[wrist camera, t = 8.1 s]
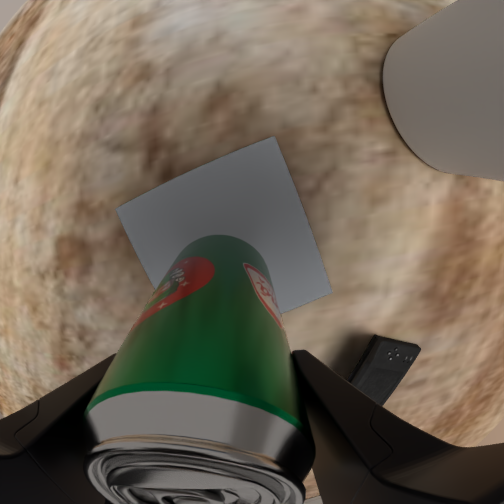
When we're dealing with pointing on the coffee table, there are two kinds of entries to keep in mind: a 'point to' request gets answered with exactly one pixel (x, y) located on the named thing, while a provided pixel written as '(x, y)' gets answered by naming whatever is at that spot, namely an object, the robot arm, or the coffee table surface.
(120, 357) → the soda can
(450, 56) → the cylinder vase
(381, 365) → the handheld gaming console
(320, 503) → the small box
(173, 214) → the slate mat
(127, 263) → the coffee table surface
